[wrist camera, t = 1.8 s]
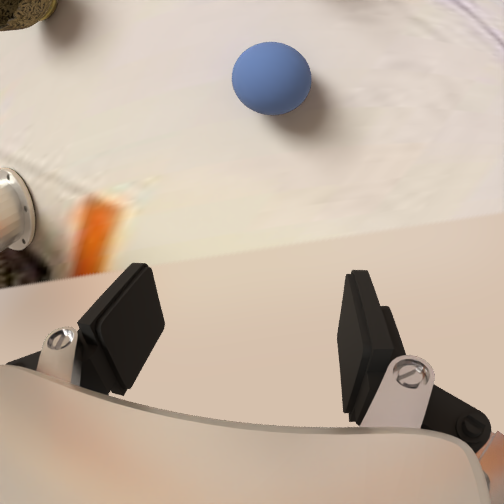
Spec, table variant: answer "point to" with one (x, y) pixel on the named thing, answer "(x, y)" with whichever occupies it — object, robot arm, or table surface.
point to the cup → (24, 13)
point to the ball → (271, 78)
